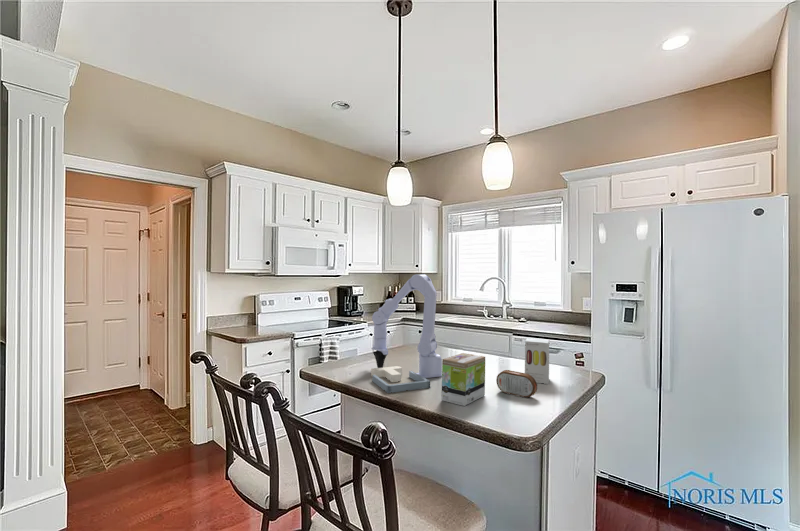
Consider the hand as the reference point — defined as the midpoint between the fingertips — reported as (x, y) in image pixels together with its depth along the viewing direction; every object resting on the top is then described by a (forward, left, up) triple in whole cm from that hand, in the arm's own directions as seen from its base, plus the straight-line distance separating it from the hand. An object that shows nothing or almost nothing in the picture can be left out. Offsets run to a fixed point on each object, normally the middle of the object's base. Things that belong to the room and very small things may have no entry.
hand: (380, 367), depth 181 cm
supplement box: (-55, +40, -2) cm, 68 cm away
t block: (0, +13, -2) cm, 13 cm away
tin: (-34, +52, -2) cm, 62 cm away
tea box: (-14, +48, -2) cm, 50 cm away
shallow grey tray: (0, +23, -1) cm, 23 cm away
